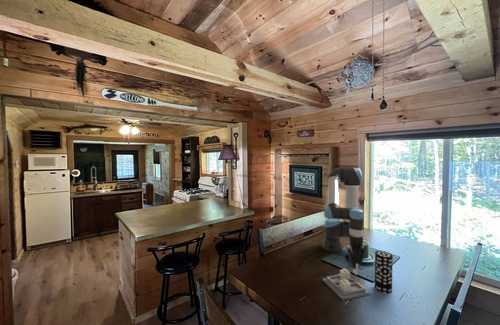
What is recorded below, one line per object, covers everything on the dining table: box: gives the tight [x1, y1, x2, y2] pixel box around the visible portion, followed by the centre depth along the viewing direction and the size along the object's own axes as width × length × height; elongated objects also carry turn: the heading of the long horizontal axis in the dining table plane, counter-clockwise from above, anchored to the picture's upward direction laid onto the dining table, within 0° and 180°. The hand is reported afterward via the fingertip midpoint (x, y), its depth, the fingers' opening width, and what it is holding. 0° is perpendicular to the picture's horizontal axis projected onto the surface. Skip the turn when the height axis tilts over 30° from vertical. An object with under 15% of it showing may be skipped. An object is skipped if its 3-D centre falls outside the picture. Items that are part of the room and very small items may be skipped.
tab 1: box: [339, 268, 351, 280], centre depth 129 cm, size 4×4×6 cm
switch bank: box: [322, 273, 371, 301], centre depth 124 cm, size 17×18×3 cm
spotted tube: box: [374, 250, 394, 294], centre depth 122 cm, size 8×8×20 cm
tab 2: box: [340, 279, 351, 292], centre depth 119 cm, size 4×4×6 cm
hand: (355, 273), depth 131 cm, fingers closed
